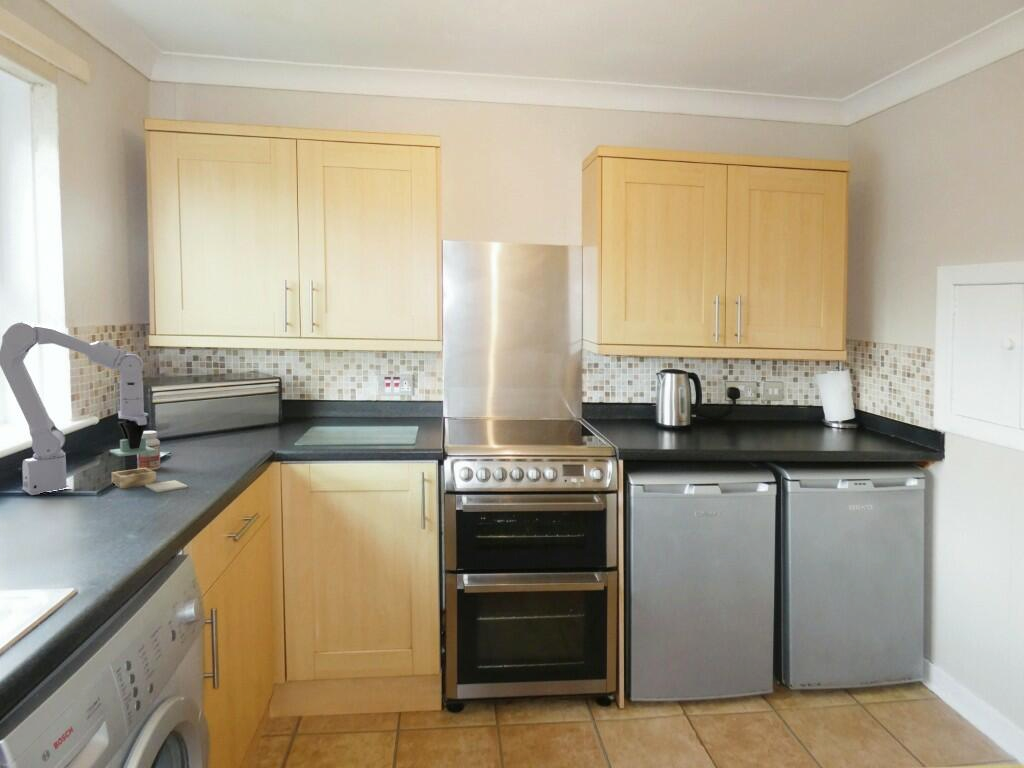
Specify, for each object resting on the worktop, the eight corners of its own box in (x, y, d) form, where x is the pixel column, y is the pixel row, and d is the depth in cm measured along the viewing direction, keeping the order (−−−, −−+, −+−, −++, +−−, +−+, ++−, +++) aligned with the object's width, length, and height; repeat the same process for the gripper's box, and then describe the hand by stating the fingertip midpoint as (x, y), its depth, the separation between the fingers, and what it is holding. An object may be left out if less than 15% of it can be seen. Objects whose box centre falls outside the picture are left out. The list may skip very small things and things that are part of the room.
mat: (157, 492, 194) (157, 490, 194) (145, 486, 199) (145, 484, 199) (187, 487, 200) (187, 485, 200) (175, 481, 205) (175, 480, 205)
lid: (119, 456, 195) (119, 443, 195) (109, 452, 200) (109, 439, 200) (156, 451, 202) (156, 439, 202) (145, 447, 207) (145, 435, 207)
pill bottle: (142, 466, 222) (141, 429, 221) (163, 466, 223) (162, 430, 222) (133, 470, 216) (132, 433, 215) (155, 471, 217) (154, 433, 216)
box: (121, 488, 196) (121, 477, 196) (111, 483, 201) (111, 472, 201) (156, 483, 203) (155, 472, 203) (146, 478, 208) (145, 467, 207)
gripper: (158, 400, 197) (159, 450, 199) (136, 394, 207) (137, 441, 209) (130, 402, 192) (131, 453, 194) (109, 396, 202) (111, 444, 203)
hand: (132, 447), depth 201 cm, fingers closed on lid, 2 cm apart
